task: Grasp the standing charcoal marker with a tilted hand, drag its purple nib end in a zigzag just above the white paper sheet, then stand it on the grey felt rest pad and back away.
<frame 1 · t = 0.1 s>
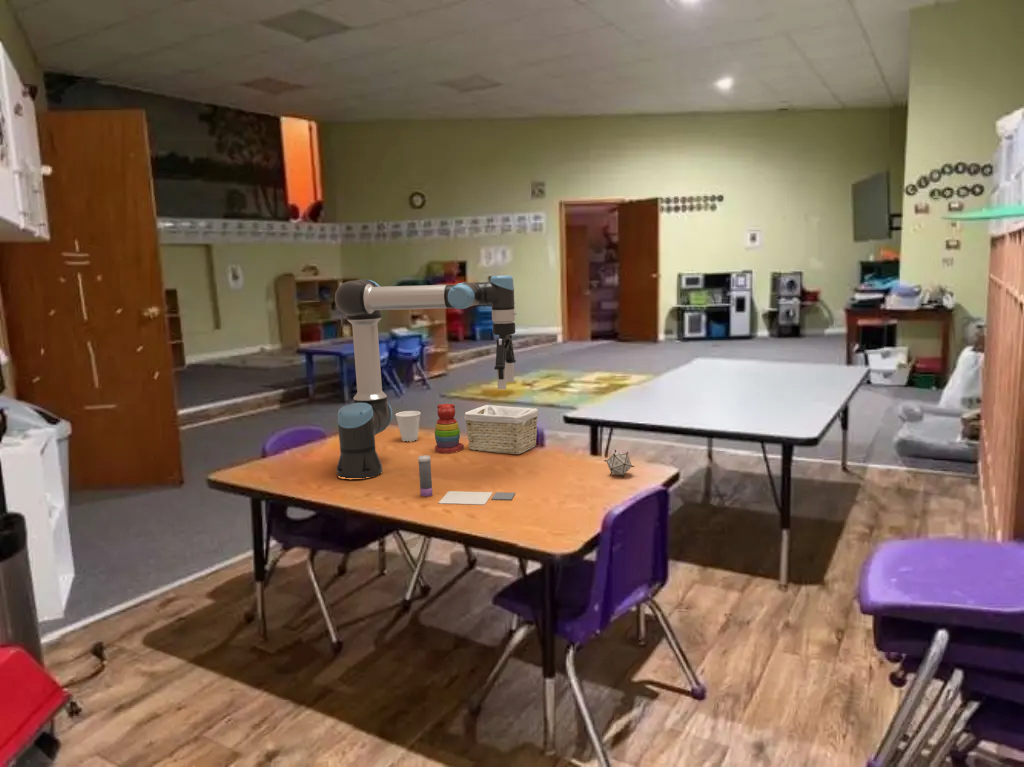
hand: (506, 385, 252), 28 cm above the table, tool pointing down, fingers open, 13 cm apart
paper: (466, 498, 224), on the table
cup: (409, 441, 298), on the table
marker: (426, 495, 229), on the table
storage basket: (502, 449, 281), on the table
stacking bear: (448, 450, 281), on the table
rest pad: (503, 496, 224), on the table
game die: (619, 476, 241), on the table
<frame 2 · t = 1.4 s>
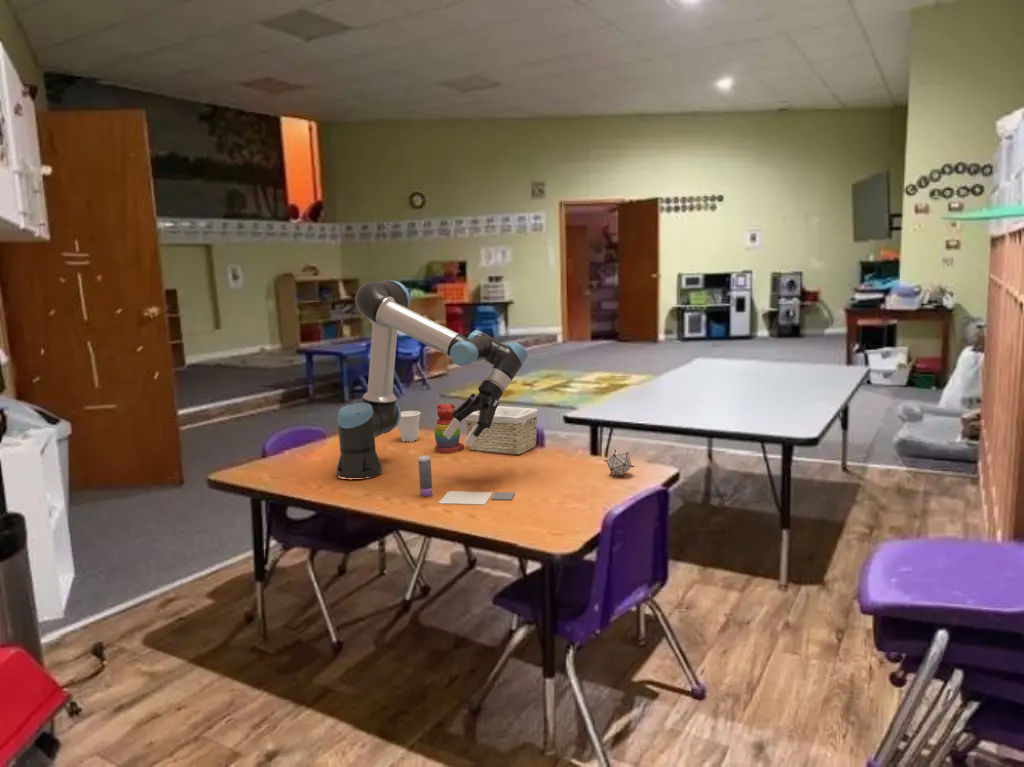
hand: (456, 440, 233), 15 cm above the table, tool tilted 45°, fingers open, 13 cm apart
nothing on the table moved.
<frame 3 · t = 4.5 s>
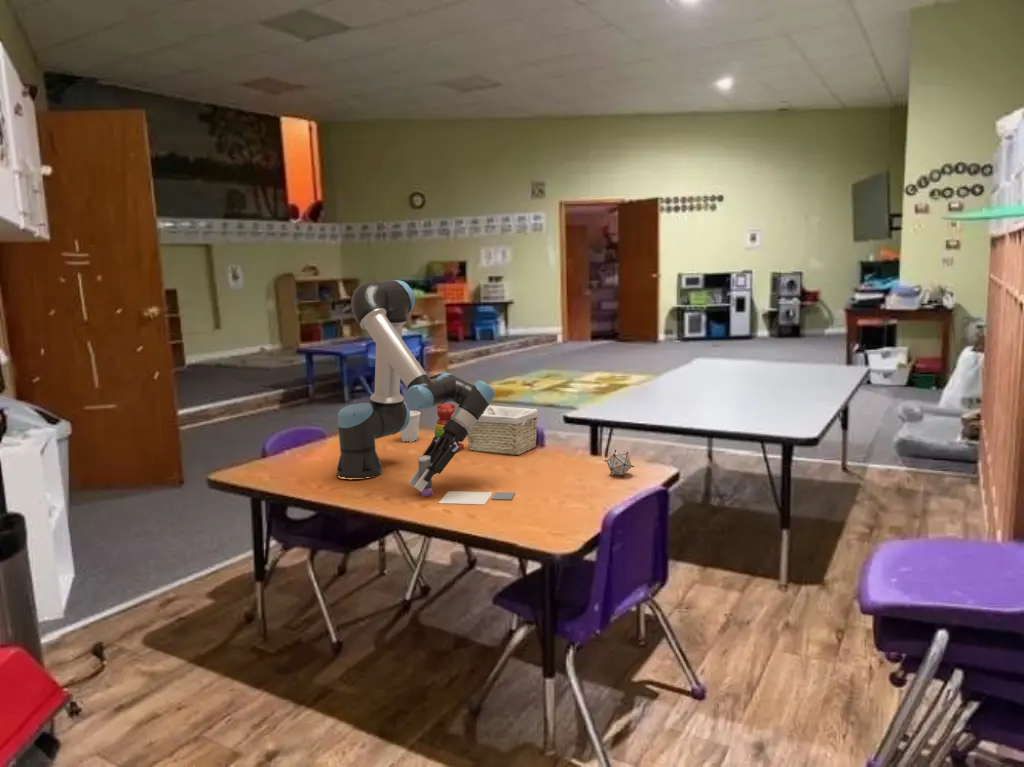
hand: (414, 487, 226), 3 cm above the table, tool tilted 45°, fingers closed on marker, 3 cm apart
marker: (426, 495, 229), on the table, touching gripper
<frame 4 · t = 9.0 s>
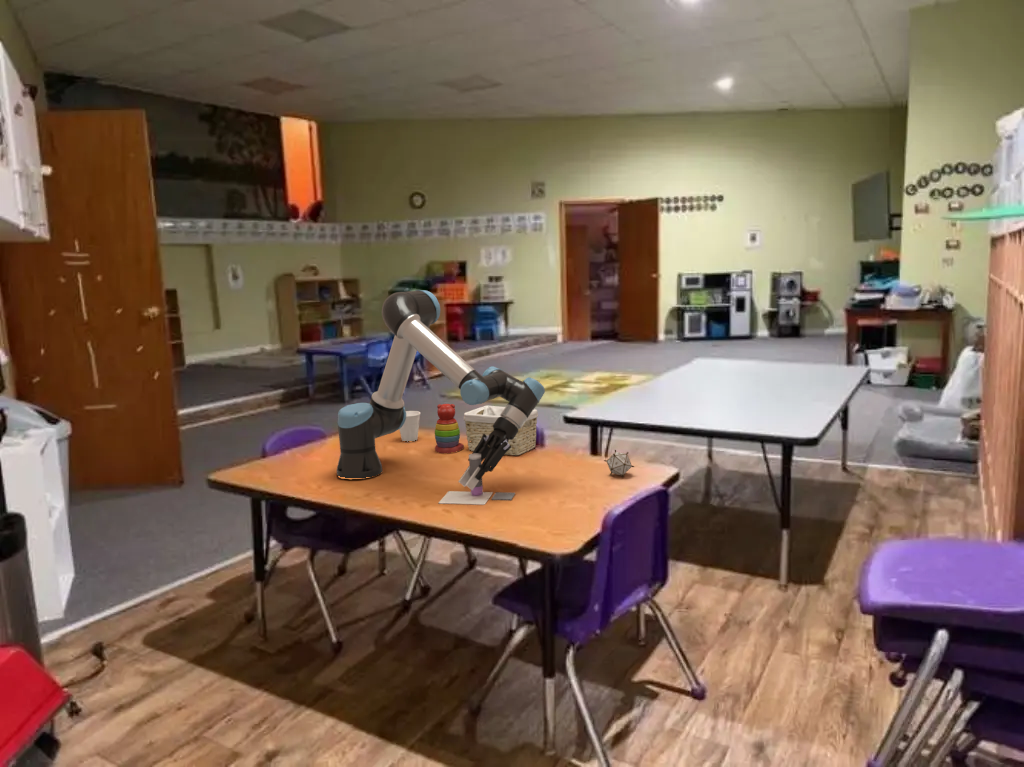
hand: (465, 485, 224), 4 cm above the table, tool tilted 45°, fingers closed on marker, 3 cm apart
marker: (476, 493, 226), point 1 cm above the table, touching gripper
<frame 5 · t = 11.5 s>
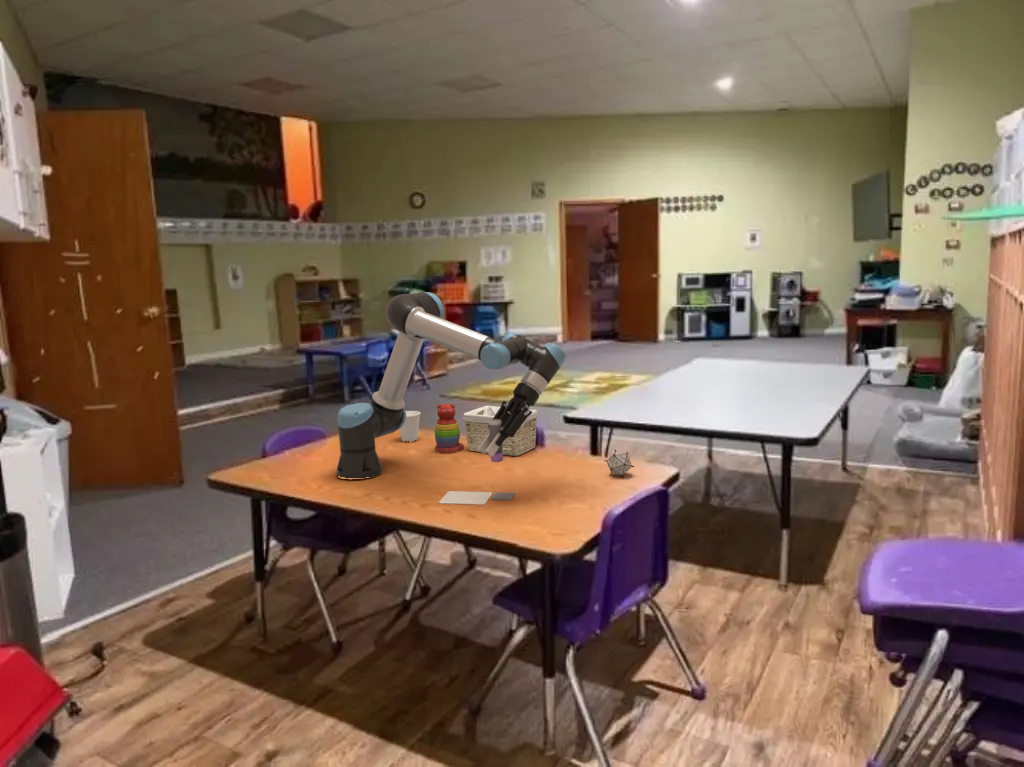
hand: (485, 452, 219), 15 cm above the table, tool tilted 45°, fingers closed on marker, 3 cm apart
marker: (497, 460, 221), point 12 cm above the table, touching gripper
when the fingers open (4 cm above the table, at t = 13.6 s): marker stays where it is, resting on rest pad.
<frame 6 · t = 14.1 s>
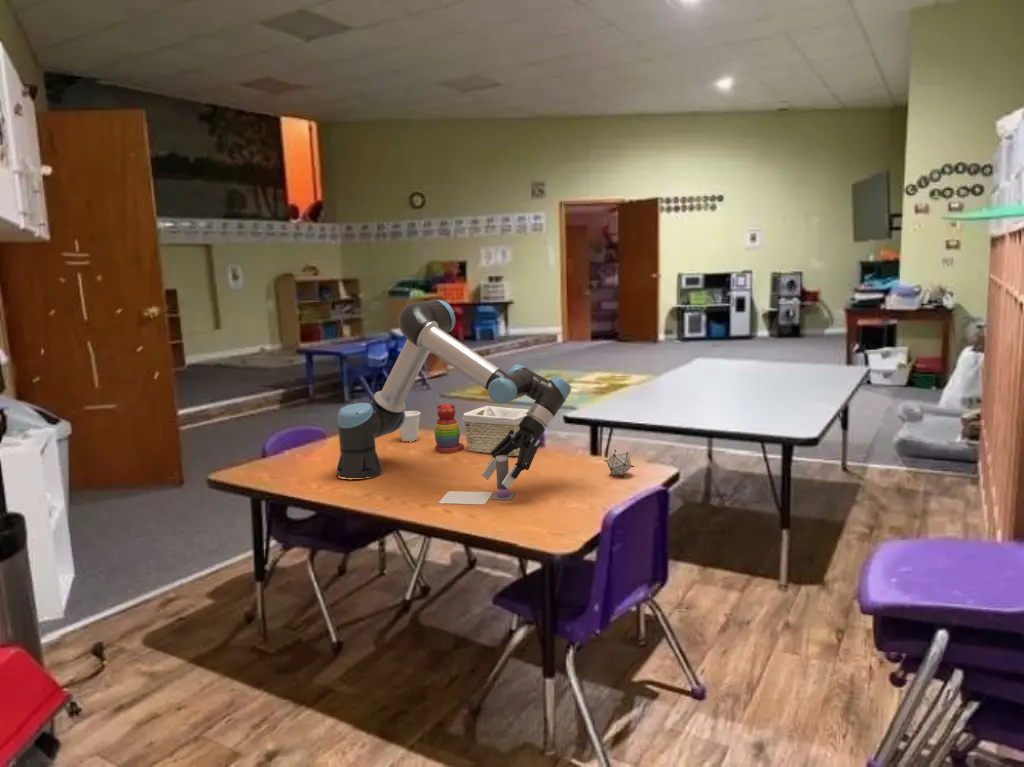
hand: (494, 481, 222), 5 cm above the table, tool tilted 45°, fingers open, 10 cm apart
marker: (503, 495, 224), resting on rest pad
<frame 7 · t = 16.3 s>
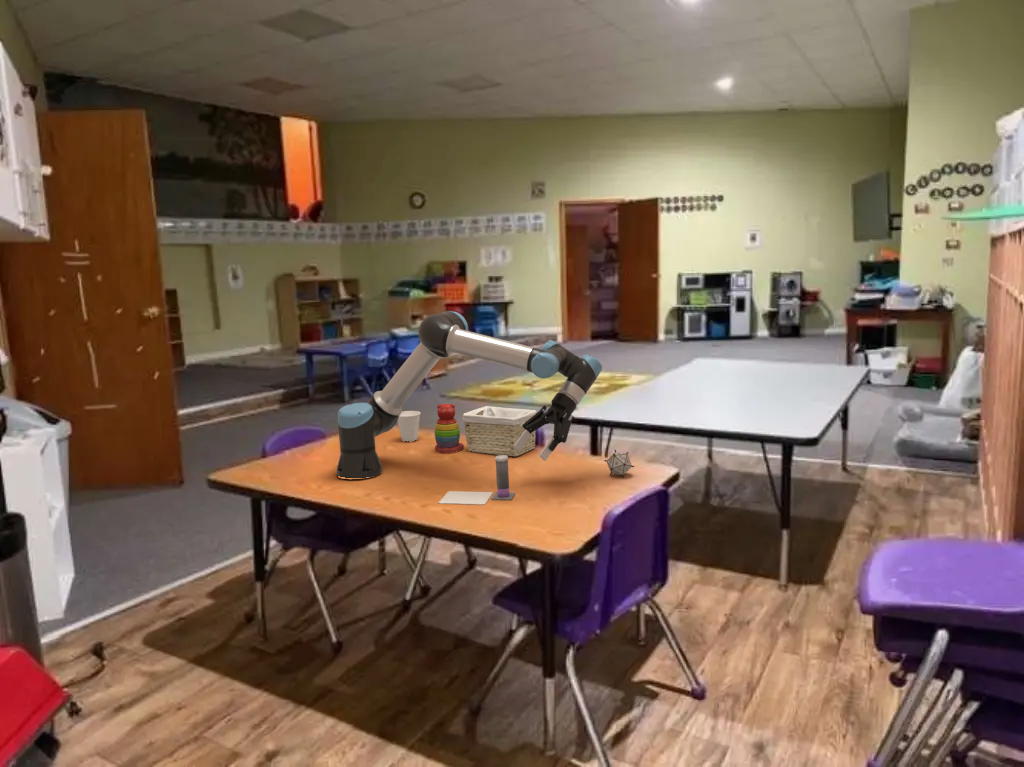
hand: (528, 453, 229), 11 cm above the table, tool tilted 45°, fingers open, 13 cm apart
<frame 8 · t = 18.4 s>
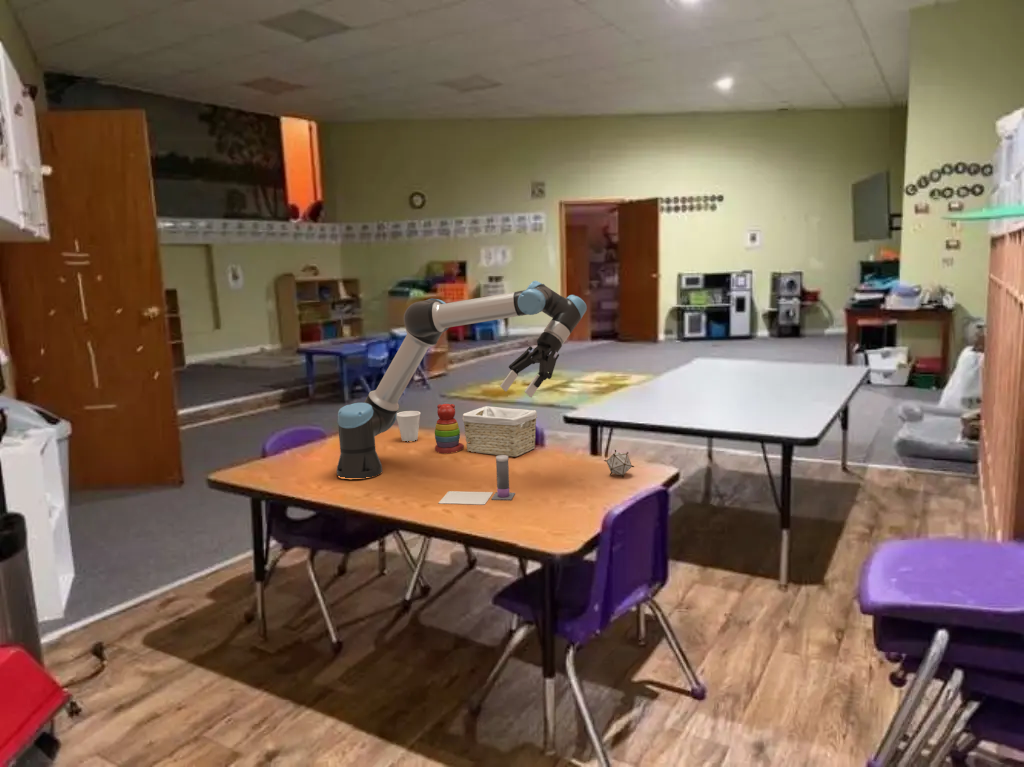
hand: (515, 391, 231), 30 cm above the table, tool tilted 45°, fingers open, 13 cm apart
at the end: marker inside the target area (0.0 cm from its centre), resting on rest pad; marker tilted 0°; the gripper is holding nothing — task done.
